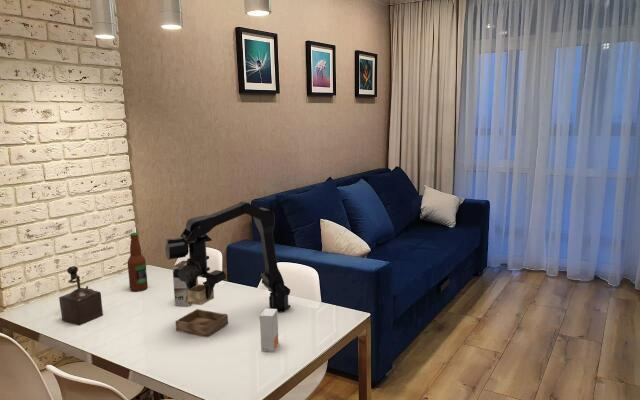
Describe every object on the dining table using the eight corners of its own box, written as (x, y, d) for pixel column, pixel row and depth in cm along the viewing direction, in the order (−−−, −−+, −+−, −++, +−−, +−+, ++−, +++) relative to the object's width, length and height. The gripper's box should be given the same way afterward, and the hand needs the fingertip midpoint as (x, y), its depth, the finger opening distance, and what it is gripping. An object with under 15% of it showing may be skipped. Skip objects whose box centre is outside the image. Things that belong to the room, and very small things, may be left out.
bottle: (144, 291, 207) (139, 235, 203) (127, 292, 207) (122, 235, 203) (150, 286, 214) (145, 231, 210) (133, 286, 214) (129, 231, 210)
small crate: (214, 298, 171) (213, 286, 170) (201, 305, 165) (200, 292, 164) (200, 295, 173) (199, 283, 173) (187, 302, 167) (186, 290, 166)
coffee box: (189, 306, 189) (186, 267, 187) (174, 305, 191) (171, 266, 188) (199, 298, 198) (197, 260, 196) (185, 297, 200) (182, 259, 197)
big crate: (228, 323, 173) (227, 314, 172) (207, 337, 163) (207, 327, 162) (197, 317, 179) (197, 308, 178) (176, 330, 168) (175, 321, 168)
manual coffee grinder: (105, 314, 184) (100, 269, 181) (79, 325, 174) (74, 278, 171) (78, 307, 191) (73, 264, 188) (52, 318, 181) (46, 272, 178)
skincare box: (274, 352, 151) (272, 316, 149) (260, 351, 152) (259, 315, 150) (279, 343, 157) (277, 308, 155) (266, 342, 158) (264, 307, 156)
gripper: (160, 258, 163) (163, 302, 165) (205, 264, 155) (207, 310, 158) (182, 249, 173) (185, 291, 175) (225, 255, 165) (228, 298, 168)
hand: (200, 297), depth 169 cm, fingers closed on small crate, 6 cm apart
